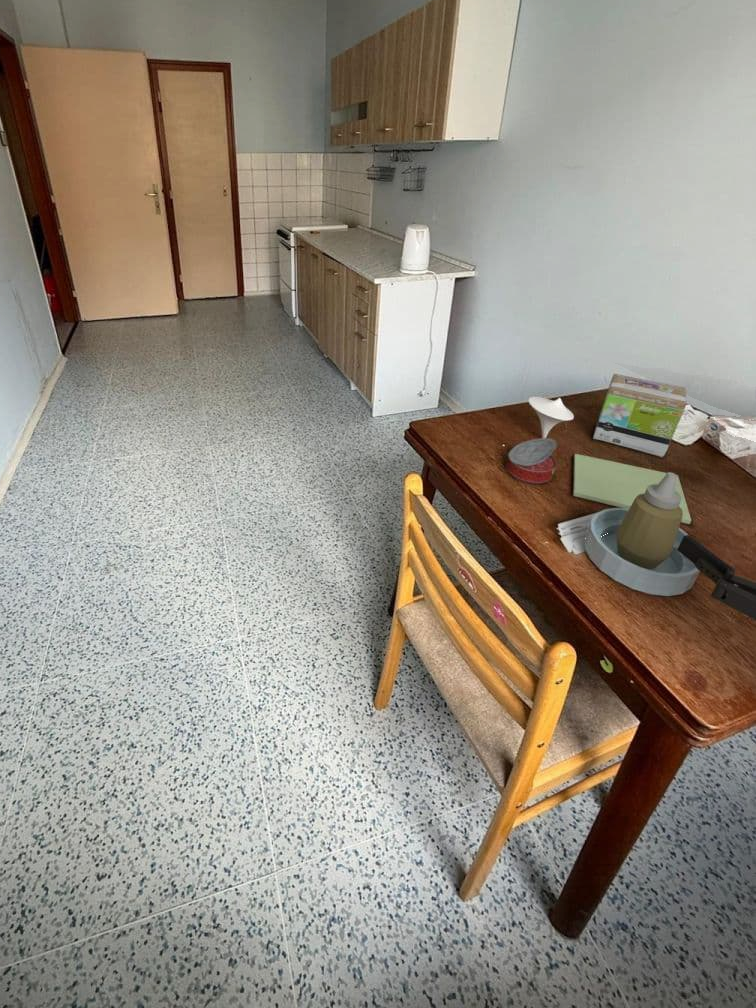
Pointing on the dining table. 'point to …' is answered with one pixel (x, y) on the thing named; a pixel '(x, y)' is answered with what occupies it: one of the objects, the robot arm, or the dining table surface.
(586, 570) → the dining table surface
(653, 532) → the squeeze bottle
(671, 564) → the bowl
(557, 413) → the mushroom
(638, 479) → the mat
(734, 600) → the robot arm
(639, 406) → the tea box
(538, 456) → the canned food
